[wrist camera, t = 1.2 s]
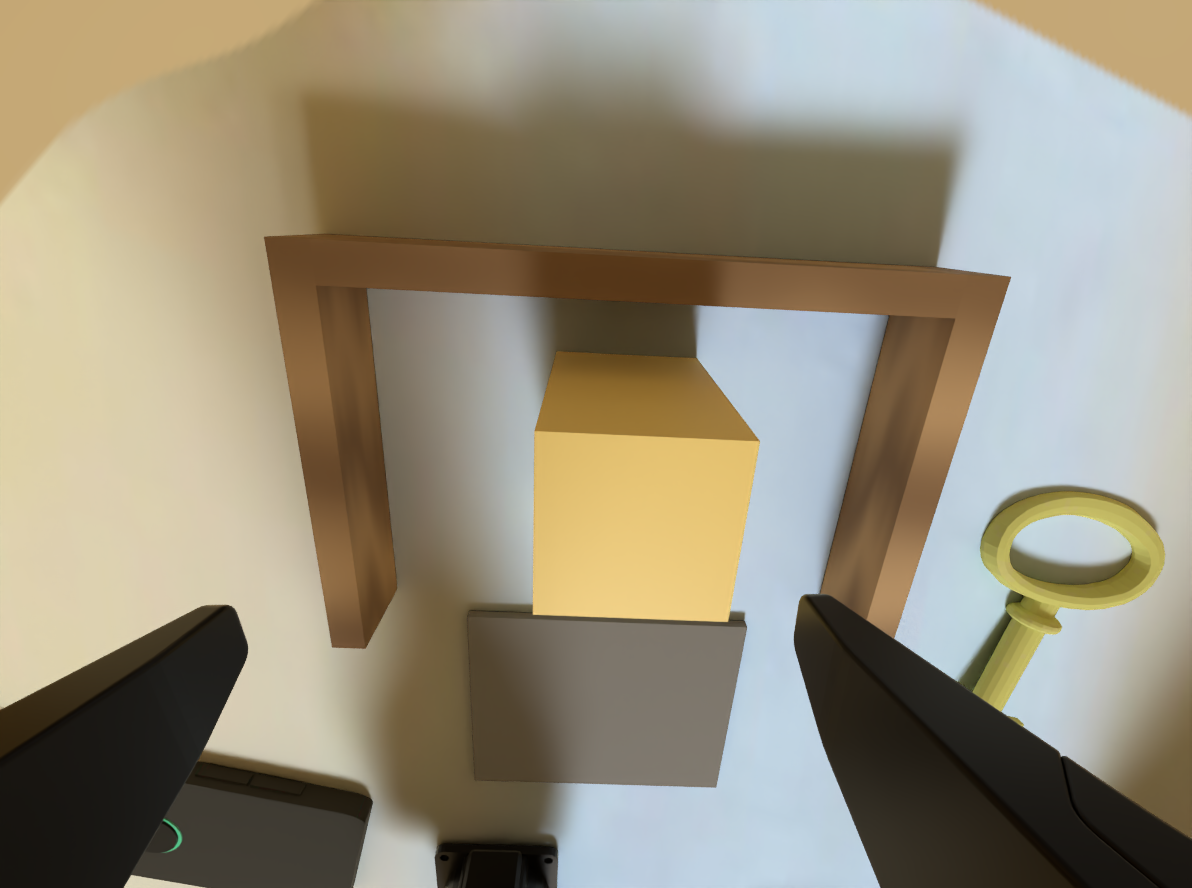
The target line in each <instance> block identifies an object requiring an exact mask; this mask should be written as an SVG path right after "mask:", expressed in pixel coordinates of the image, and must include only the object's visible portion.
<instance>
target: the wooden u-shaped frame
mask: <svg viewBox="0 0 1192 888" xmlns="http://www.w3.org/2000/svg"><path fill="white" fill-rule="evenodd" d="M264 239H265V245H266V251H267V257H268V263H269V269H270V275H271V281H272V287H273V294H274V300H275V306H276V312H277V318H278V324H279V330H280V336H281V342H282V348H283V354H284V360H285V366H286V372H287V378H288V384H289V390H290V396H291V402H292V408H293V414H294V420H295V426H296V432H297V438H298V444H299V450H300V456H301V462H302V468H303V474H304V480H305V486H306V493H307V499H308V505H309V511H310V517H311V523H312V529H313V535H314V541H315V547H316V553H317V559H318V565H319V571H320V577H321V583H322V589H323V595H324V601H325V607H326V613H327V619H328V625H329V631H330V637H331V643H332V647H334V648H362V649H366V647H367V645H368V643H369V641H370V639H371V637H372V635H373V634H374V632H375V630H376V628H377V626H378V624H379V622H380V620H381V619H382V617H383V615H384V613H385V611H386V609H387V607H388V605H389V604H390V602H391V600H392V598H393V596H394V594H395V592H396V590H397V581H396V572H395V562H394V552H393V543H392V533H391V523H390V514H389V504H388V494H387V485H386V475H385V465H384V456H383V446H382V436H381V427H380V417H379V407H378V398H377V388H376V378H375V369H374V359H373V349H372V340H371V330H370V320H369V311H368V301H367V291H366V288H376V289H395V290H414V291H433V292H453V293H472V294H491V295H510V296H530V297H549V298H568V299H588V300H607V301H626V302H645V303H665V304H684V305H703V306H722V307H742V308H761V309H780V310H800V311H819V312H838V313H857V314H877V315H890V316H889V320H888V324H887V328H886V332H885V336H884V340H883V344H882V348H881V352H880V356H879V360H878V364H877V368H876V372H875V376H874V380H873V384H872V388H871V392H870V396H869V400H868V404H867V408H866V412H865V416H864V420H863V424H862V428H861V432H860V436H859V440H858V444H857V448H856V452H855V456H854V460H853V464H852V468H851V472H850V476H849V480H848V484H847V488H846V492H845V496H844V500H843V504H842V508H841V512H840V516H839V520H838V524H837V528H836V532H835V536H834V540H833V544H832V548H831V552H830V556H829V560H828V564H827V568H826V572H825V576H824V580H823V584H822V588H821V592H820V594H828V595H830V596H832V597H834V598H835V599H837V600H838V601H840V602H841V603H842V604H844V605H845V606H847V607H848V608H850V609H851V610H853V611H854V612H856V613H857V614H859V615H860V616H862V617H863V618H864V619H866V620H867V621H869V622H870V623H872V624H873V625H875V626H876V627H878V628H879V629H881V630H882V631H883V632H885V633H886V634H888V635H889V636H891V637H892V638H894V637H895V634H896V631H897V628H898V625H899V622H900V619H901V616H902V613H903V610H904V606H905V603H906V600H907V597H908V594H909V591H910V588H911V585H912V582H913V579H914V576H915V572H916V569H917V566H918V563H919V560H920V557H921V554H922V551H923V548H924V545H925V542H926V538H927V535H928V532H929V529H930V526H931V523H932V520H933V517H934V514H935V511H936V508H937V505H938V501H939V498H940V495H941V492H942V489H943V486H944V483H945V480H946V477H947V474H948V471H949V467H950V464H951V461H952V458H953V455H954V452H955V449H956V446H957V443H958V440H959V437H960V433H961V430H962V427H963V424H964V421H965V418H966V415H967V412H968V409H969V406H970V403H971V399H972V396H973V393H974V390H975V387H976V384H977V381H978V378H979V375H980V372H981V369H982V366H983V362H984V359H985V356H986V353H987V350H988V347H989V344H990V341H991V338H992V335H993V332H994V328H995V325H996V322H997V319H998V316H999V313H1000V310H1001V307H1002V304H1003V301H1004V298H1005V294H1006V291H1007V288H1008V285H1009V282H1010V279H1011V277H1008V276H1000V275H993V274H985V273H977V272H970V271H962V270H955V269H947V268H939V267H924V266H906V265H887V264H869V263H850V262H832V261H813V260H795V259H776V258H758V257H739V256H721V255H702V254H684V253H665V252H647V251H629V250H610V249H592V248H573V247H555V246H536V245H518V244H499V243H481V242H462V241H444V240H425V239H407V238H388V237H370V236H352V235H333V234H313V235H290V236H268V237H264Z"/></svg>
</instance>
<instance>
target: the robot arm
mask: <svg viewBox="0 0 1192 888" xmlns="http://www.w3.org/2000/svg"><path fill="white" fill-rule="evenodd" d="M794 646H795V651H796V655H797V658H798V662H799V665H800V669H801V672H802V676H803V679H804V682H805V686H806V689H807V693H808V696H809V700H810V703H811V707H812V710H813V714H814V717H815V721H816V724H817V728H818V731H819V734H820V737H821V740H822V744H823V747H824V749H825V752H826V754H827V757H828V760H829V762H830V765H831V767H832V770H833V772H834V775H835V777H836V780H837V782H838V784H839V787H840V789H841V792H842V794H843V797H844V799H845V802H846V804H847V807H848V809H849V811H850V814H851V816H852V819H853V821H854V824H855V826H856V829H857V831H858V834H859V836H860V839H861V841H862V843H863V846H864V848H865V851H866V853H867V856H868V858H869V861H870V863H871V866H872V868H873V870H874V873H875V875H876V878H877V880H878V883H879V885H880V888H1192V839H1191V838H1190V837H1188V836H1187V835H1185V834H1183V833H1182V832H1180V831H1179V830H1177V829H1176V828H1174V827H1172V826H1171V825H1169V824H1168V823H1166V822H1164V821H1163V820H1161V819H1160V818H1158V817H1156V816H1155V815H1153V814H1152V813H1150V812H1149V811H1147V810H1146V809H1144V808H1143V807H1141V806H1140V805H1138V804H1137V803H1135V802H1134V801H1132V800H1131V799H1129V798H1128V797H1126V796H1125V795H1123V794H1122V793H1120V792H1119V791H1117V790H1116V789H1114V788H1113V787H1111V786H1110V785H1108V784H1107V783H1105V782H1103V781H1102V780H1100V779H1099V778H1098V777H1096V776H1095V775H1093V774H1092V773H1090V772H1089V771H1087V770H1086V769H1084V768H1083V767H1081V766H1080V765H1078V764H1077V763H1076V762H1074V761H1073V760H1071V759H1070V758H1068V757H1066V756H1062V757H1061V756H1060V753H1059V751H1058V750H1056V749H1055V748H1053V747H1052V746H1050V745H1049V744H1047V743H1046V742H1044V741H1043V740H1042V739H1040V738H1039V737H1037V736H1036V735H1034V734H1033V733H1031V732H1030V731H1028V730H1027V729H1025V728H1024V727H1023V726H1021V725H1020V724H1018V723H1017V722H1015V721H1014V720H1012V719H1011V718H1009V717H1008V716H1006V715H1005V714H1004V713H1002V712H1001V711H999V710H998V709H996V708H995V707H993V706H992V705H990V704H989V703H987V702H986V701H984V700H983V699H982V698H980V697H979V696H977V695H976V694H974V693H973V692H971V691H970V690H968V689H967V688H965V687H964V686H963V685H961V684H960V683H958V682H957V681H955V680H954V679H952V678H951V677H949V676H948V675H946V674H945V673H943V672H942V671H941V670H939V669H938V668H936V667H935V666H933V665H932V664H930V663H929V662H927V661H926V660H924V659H923V658H922V657H920V656H919V655H917V654H916V653H914V652H913V651H911V650H910V649H908V648H907V647H905V646H904V645H903V644H901V643H900V642H898V641H897V640H895V639H894V638H892V637H891V636H889V635H888V634H886V633H885V632H883V631H882V630H881V629H879V628H878V627H876V626H875V625H873V624H872V623H870V622H869V621H867V620H866V619H864V618H863V617H862V616H860V615H859V614H857V613H856V612H854V611H853V610H851V609H850V608H848V607H847V606H845V605H844V604H842V603H841V602H840V601H838V600H837V599H835V598H834V597H832V596H830V595H828V594H805V595H803V596H802V597H801V599H800V601H799V605H798V612H797V618H796V625H795V631H794ZM247 655H248V644H247V640H246V638H245V635H244V632H243V629H242V626H241V623H240V620H239V618H238V615H237V612H236V610H235V609H234V608H233V607H232V606H229V605H205V606H201V607H199V608H197V609H195V610H193V611H191V612H189V613H187V614H185V615H183V616H181V617H179V618H178V619H176V620H174V621H172V622H170V623H168V624H166V625H164V626H162V627H160V628H158V629H156V630H154V631H152V632H150V633H148V634H147V635H145V636H143V637H141V638H139V639H137V640H135V641H133V642H131V643H129V644H127V645H125V646H123V647H121V648H119V649H118V650H116V651H114V652H112V653H110V654H108V655H106V656H104V657H102V658H100V659H98V660H96V661H94V662H92V663H90V664H88V665H87V666H85V667H83V668H81V669H79V670H77V671H75V672H73V673H71V674H69V675H67V676H65V677H63V678H61V679H59V680H57V681H56V682H54V683H52V684H50V685H48V686H46V687H44V688H42V689H40V690H38V691H36V692H34V693H32V694H30V695H28V696H27V697H25V698H23V699H21V700H19V701H17V702H15V703H13V704H11V705H9V706H7V707H5V708H3V709H1V710H0V888H124V886H125V884H126V883H127V881H128V879H129V878H130V876H131V874H132V872H133V871H134V869H135V867H136V866H137V864H138V862H139V861H140V859H141V857H142V855H143V854H144V852H145V850H146V849H147V847H148V845H149V844H150V842H151V840H152V838H153V837H154V835H155V833H156V832H157V830H158V828H159V826H160V825H161V823H162V821H163V820H164V818H165V816H166V815H167V813H168V811H169V809H170V808H171V806H172V804H173V803H174V801H175V799H176V797H177V796H178V794H179V792H180V791H181V789H182V787H183V786H184V784H185V782H186V780H187V779H188V777H189V775H190V774H191V772H192V770H193V768H194V767H195V765H196V763H197V761H198V759H199V758H200V756H201V754H202V752H203V750H204V748H205V746H206V744H207V742H208V740H209V738H210V736H211V734H212V732H213V729H214V727H215V725H216V723H217V721H218V719H219V717H220V715H221V712H222V710H223V708H224V706H225V704H226V702H227V700H228V698H229V695H230V693H231V691H232V689H233V687H234V685H235V683H236V681H237V678H238V676H239V674H240V672H241V670H242V668H243V666H244V664H245V661H246V658H247ZM435 865H436V875H437V886H438V888H557V870H558V851H557V850H556V849H555V848H553V847H538V846H502V845H465V844H442V845H439V846H438V847H437V851H436V855H435Z"/></svg>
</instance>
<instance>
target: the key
mask: <svg viewBox="0 0 1192 888" xmlns="http://www.w3.org/2000/svg"><path fill="white" fill-rule="evenodd" d="M1058 515H1077V516H1082V517H1087V518H1090V519H1094V520H1097V521H1100V522H1102V523H1104V524H1106V525H1108V526H1110V527H1112V528H1114V529H1116V530H1117V531H1118V532H1120V533H1121V534H1122V535H1123V536H1124V537H1125V538H1126V539H1127V540H1128V541H1129V543H1130V544H1131V548H1132V556H1131V558H1130V561H1129V563H1128V564H1127V565H1126V566H1125V567H1124V568H1123V569H1122V570H1121V571H1120V572H1119V573H1118V574H1116V575H1114V576H1113V577H1111V578H1109V579H1106V580H1104V581H1101V582H1095V583H1090V584H1082V585H1065V584H1055V583H1049V582H1043V581H1040V580H1036V579H1033V578H1029V577H1027V576H1024V575H1023V574H1021V573H1019V572H1018V571H1016V570H1015V569H1014V568H1013V567H1012V565H1011V563H1010V557H1009V554H1010V548H1011V545H1012V542H1013V539H1014V538H1015V537H1016V535H1017V534H1018V533H1019V532H1020V531H1021V530H1022V529H1023V528H1024V527H1026V526H1027V525H1029V524H1030V523H1032V522H1035V521H1037V520H1040V519H1044V518H1048V517H1052V516H1058ZM980 553H981V558H982V561H983V564H984V566H985V567H986V568H987V569H988V570H989V571H990V572H991V573H992V574H993V575H994V577H995V578H996V579H997V580H998V581H999V582H1000V583H1001V584H1003V585H1005V586H1006V587H1008V588H1009V589H1011V590H1013V591H1015V592H1017V593H1020V594H1022V595H1024V596H1023V598H1022V600H1021V602H1013V603H1010V604H1008V605H1007V607H1006V611H1007V612H1008V614H1009V615H1010V616H1011V617H1012V619H1011V620H1010V622H1009V624H1008V626H1007V628H1006V630H1005V632H1004V634H1003V635H1002V637H1001V639H1000V641H999V643H998V645H997V647H996V649H995V650H994V652H993V654H992V656H991V658H990V660H989V662H988V663H987V665H986V667H985V669H984V671H983V673H982V675H981V677H980V678H979V680H978V682H977V684H976V686H975V688H974V690H973V693H974V694H976V695H977V696H979V697H980V698H982V699H983V700H984V701H986V702H987V703H989V704H990V705H992V706H993V707H995V708H996V709H998V710H999V711H1002V709H1003V708H1004V706H1005V704H1006V702H1007V701H1008V699H1009V697H1010V695H1011V693H1012V692H1013V690H1014V688H1015V686H1016V684H1017V683H1018V681H1019V679H1020V677H1021V676H1022V674H1023V672H1024V670H1025V668H1026V667H1027V665H1028V663H1029V661H1030V659H1031V658H1032V656H1033V654H1034V652H1035V651H1036V649H1037V647H1038V645H1039V643H1040V642H1041V640H1042V638H1043V636H1044V634H1057V633H1059V632H1060V631H1061V629H1062V626H1061V624H1060V623H1059V621H1058V620H1057V619H1056V618H1055V615H1056V613H1057V611H1058V609H1059V608H1060V607H1064V608H1070V609H1081V610H1095V609H1106V608H1110V607H1114V606H1118V605H1122V604H1125V603H1127V602H1130V601H1132V600H1134V599H1136V598H1137V597H1139V596H1140V595H1142V594H1143V593H1145V592H1146V591H1147V590H1148V589H1149V588H1150V587H1151V586H1152V585H1153V584H1154V582H1155V581H1156V579H1157V578H1158V576H1159V575H1160V572H1161V570H1162V568H1163V566H1164V560H1165V551H1164V546H1163V542H1162V541H1161V539H1160V537H1159V535H1158V534H1157V533H1156V531H1155V530H1154V529H1153V528H1152V527H1151V525H1150V524H1149V523H1148V522H1147V521H1146V520H1144V519H1143V518H1142V517H1141V516H1140V515H1139V514H1138V513H1137V512H1136V511H1135V510H1134V509H1132V508H1131V507H1129V506H1127V505H1126V504H1123V503H1121V502H1119V501H1116V500H1114V499H1111V498H1108V497H1104V496H1101V495H1096V494H1091V493H1084V492H1074V491H1058V492H1051V493H1044V494H1040V495H1036V496H1032V497H1028V498H1026V499H1023V500H1021V501H1018V502H1016V503H1014V504H1013V505H1011V506H1009V507H1008V508H1006V509H1005V510H1003V511H1002V512H1001V513H1000V514H998V515H997V516H996V517H995V518H994V519H993V520H992V522H991V523H990V525H989V526H988V527H987V529H986V531H985V533H984V535H983V537H982V540H981V546H980ZM1008 717H1009V718H1011V719H1012V720H1014V721H1015V722H1017V723H1018V724H1020V725H1021V726H1024V724H1023V723H1022V722H1021V721H1020V720H1019V719H1018V718H1015V717H1010V716H1008Z"/></svg>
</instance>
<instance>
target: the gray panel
mask: <svg viewBox="0 0 1192 888" xmlns="http://www.w3.org/2000/svg"><path fill="white" fill-rule="evenodd" d="M467 622H468V644H469V665H470V687H471V708H472V730H473V752H474V773H475V780H487V781H520V782H553V783H586V784H619V785H651V786H684V787H716V785H717V780H718V775H719V770H720V765H721V760H722V755H723V749H724V744H725V739H726V734H727V729H728V724H729V718H730V713H731V708H732V703H733V698H734V693H735V688H736V682H737V677H738V672H739V667H740V662H741V657H742V652H743V646H744V641H745V636H746V631H747V626H746V623H745V621H728V622H713V621H687V620H660V619H634V618H607V617H581V616H554V615H533V613H517V612H490V611H469V613H468V616H467Z"/></svg>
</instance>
